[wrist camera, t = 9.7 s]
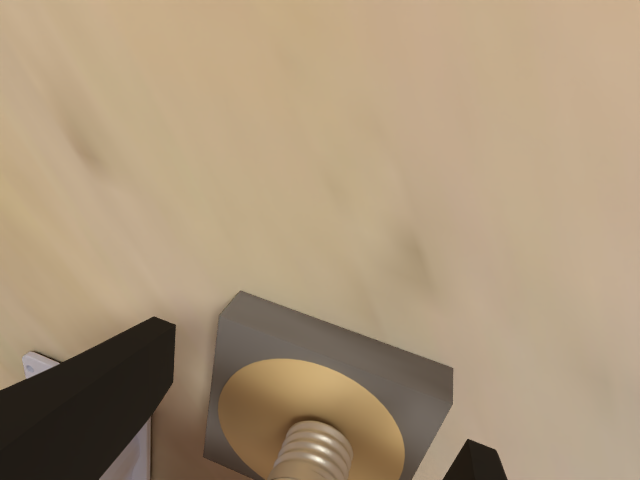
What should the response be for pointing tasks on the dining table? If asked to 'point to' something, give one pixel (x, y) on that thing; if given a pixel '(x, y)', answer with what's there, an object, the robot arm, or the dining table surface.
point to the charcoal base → (318, 392)
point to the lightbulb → (313, 454)
